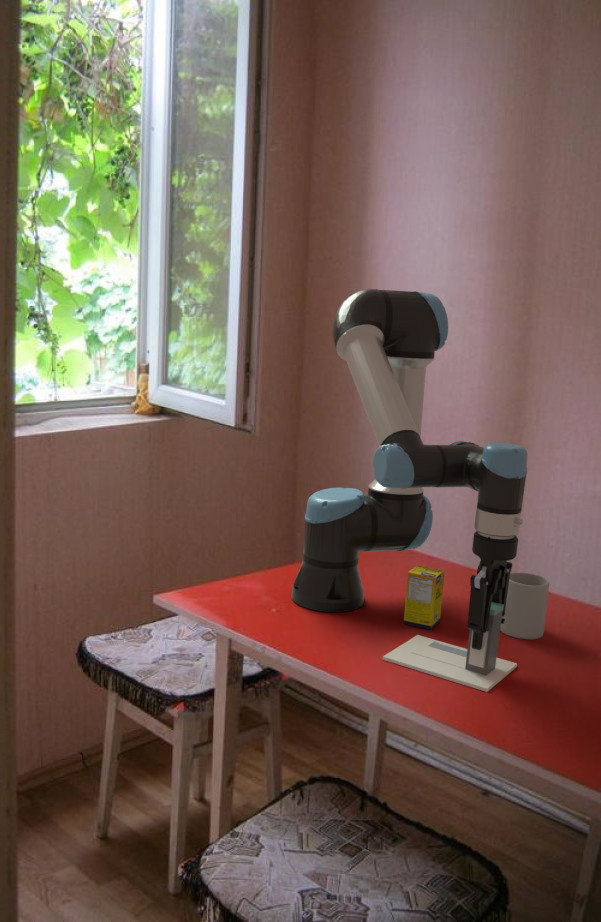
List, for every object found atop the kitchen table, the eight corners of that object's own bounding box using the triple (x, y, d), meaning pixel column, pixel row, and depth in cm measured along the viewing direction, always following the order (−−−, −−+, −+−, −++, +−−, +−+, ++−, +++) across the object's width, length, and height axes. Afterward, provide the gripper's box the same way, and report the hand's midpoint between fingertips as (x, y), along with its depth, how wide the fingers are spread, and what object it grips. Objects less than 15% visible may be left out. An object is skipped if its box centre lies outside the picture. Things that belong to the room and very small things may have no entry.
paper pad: (382, 659, 171) (382, 656, 171) (417, 637, 183) (417, 634, 183) (487, 692, 161) (487, 688, 161) (516, 666, 172) (517, 663, 172)
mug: (551, 639, 187) (557, 585, 185) (511, 640, 185) (517, 586, 183) (523, 617, 198) (529, 566, 196) (485, 618, 196) (491, 566, 194)
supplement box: (440, 621, 192) (445, 569, 190) (431, 630, 187) (436, 577, 185) (412, 615, 195) (417, 564, 193) (402, 624, 189) (407, 571, 187)
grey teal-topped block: (464, 668, 168) (472, 604, 165) (474, 661, 171) (481, 598, 169) (486, 675, 166) (494, 610, 163) (495, 668, 169) (503, 604, 167)
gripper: (498, 548, 155) (482, 682, 159) (534, 528, 169) (519, 652, 173) (455, 538, 159) (441, 670, 163) (494, 520, 173) (480, 641, 177)
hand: (481, 660), depth 168 cm, fingers closed on grey teal-topped block, 4 cm apart
